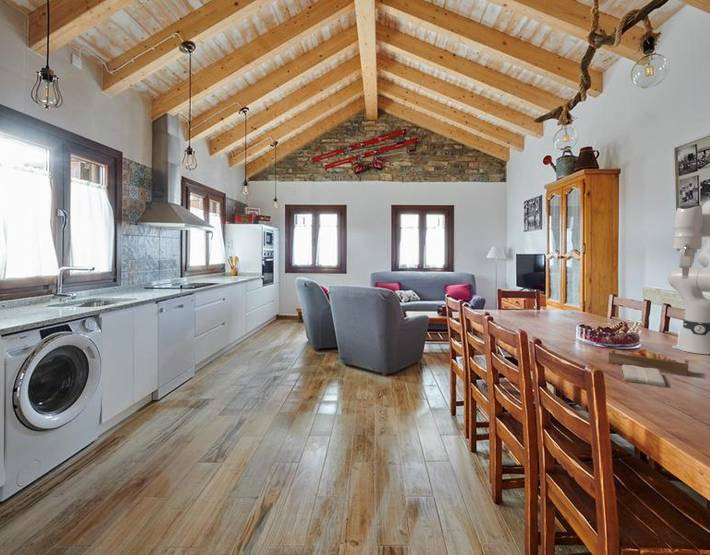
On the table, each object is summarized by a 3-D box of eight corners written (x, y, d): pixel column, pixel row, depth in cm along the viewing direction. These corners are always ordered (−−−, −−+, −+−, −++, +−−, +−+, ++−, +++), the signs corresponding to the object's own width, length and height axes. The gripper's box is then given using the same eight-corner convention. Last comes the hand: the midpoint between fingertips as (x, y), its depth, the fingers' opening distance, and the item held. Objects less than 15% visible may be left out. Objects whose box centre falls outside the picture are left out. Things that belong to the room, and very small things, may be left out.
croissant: (682, 377, 150) (681, 358, 153) (686, 371, 143) (686, 351, 145) (616, 367, 162) (617, 349, 165) (618, 361, 154) (619, 342, 157)
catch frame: (612, 359, 163) (612, 349, 163) (688, 371, 146) (688, 360, 146) (608, 363, 157) (608, 352, 157) (687, 376, 141) (687, 364, 140)
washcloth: (658, 375, 144) (659, 366, 144) (666, 389, 128) (667, 380, 128) (620, 370, 150) (620, 362, 150) (623, 382, 135) (624, 374, 134)
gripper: (696, 244, 145) (694, 280, 146) (698, 245, 160) (696, 278, 161) (675, 244, 150) (673, 279, 151) (678, 245, 165) (676, 277, 166)
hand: (685, 278), depth 156 cm, fingers closed
